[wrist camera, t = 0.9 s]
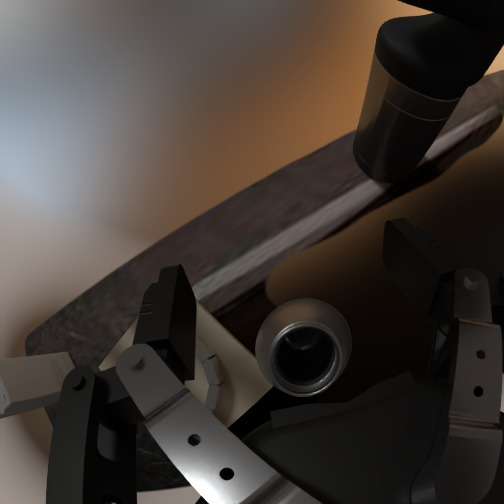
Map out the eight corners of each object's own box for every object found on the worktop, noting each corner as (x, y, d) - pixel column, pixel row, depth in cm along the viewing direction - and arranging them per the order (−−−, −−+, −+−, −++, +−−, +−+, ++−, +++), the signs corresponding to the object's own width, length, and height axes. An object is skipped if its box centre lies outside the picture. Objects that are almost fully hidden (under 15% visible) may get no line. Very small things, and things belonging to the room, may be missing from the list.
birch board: (175, 277, 36) (171, 276, 35) (279, 378, 31) (279, 380, 30) (102, 366, 35) (98, 367, 34) (188, 458, 30) (185, 461, 29)
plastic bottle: (338, 312, 32) (392, 316, 12) (316, 366, 31) (335, 439, 11) (287, 293, 33) (270, 270, 14) (265, 346, 32) (217, 394, 13)
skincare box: (69, 350, 37) (-7, 355, 21) (87, 387, 35) (11, 405, 20) (46, 370, 37) (-22, 377, 22) (63, 404, 35) (-5, 420, 20)
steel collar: (172, 308, 34) (163, 308, 32) (245, 380, 31) (240, 385, 28) (119, 370, 33) (109, 373, 31) (182, 438, 30) (174, 445, 28)
